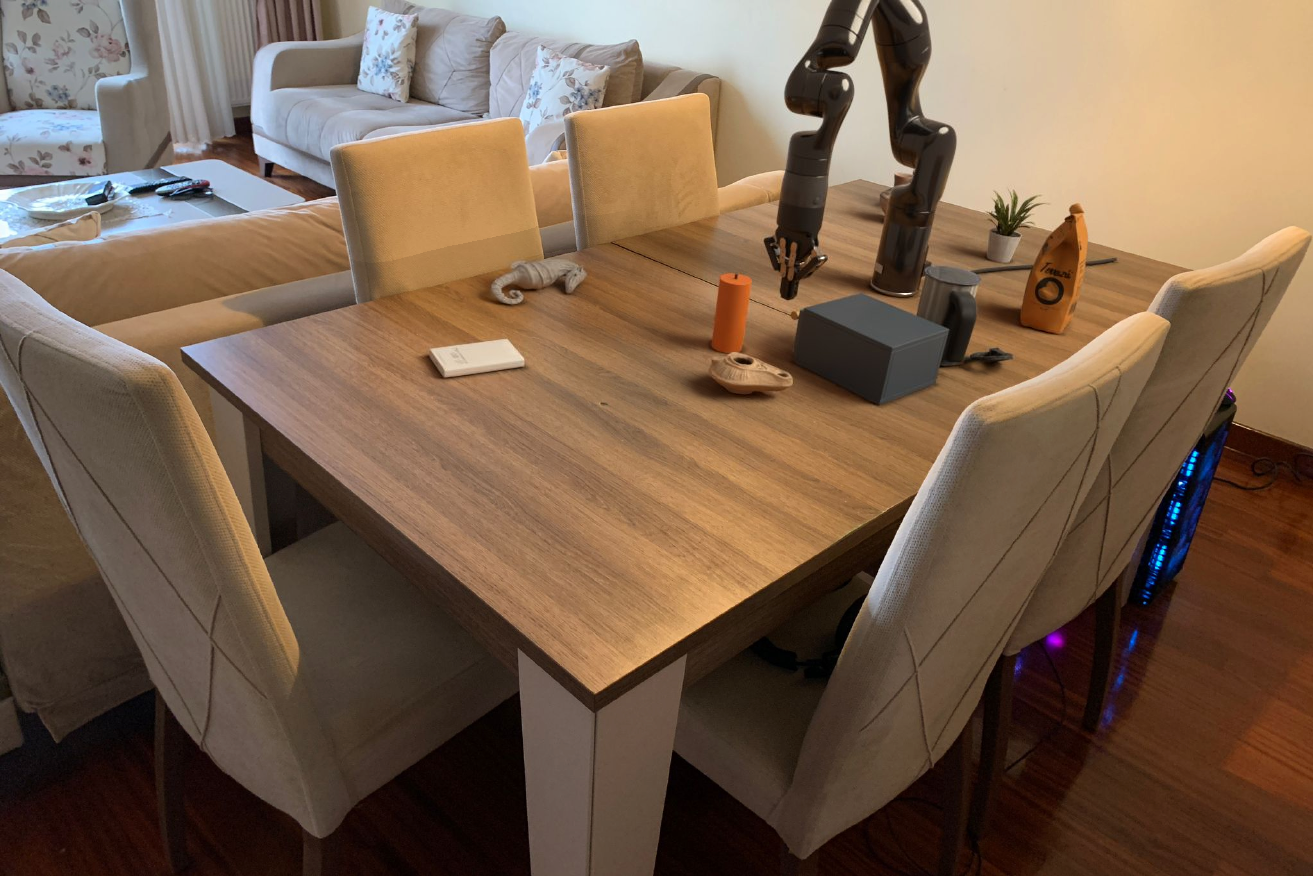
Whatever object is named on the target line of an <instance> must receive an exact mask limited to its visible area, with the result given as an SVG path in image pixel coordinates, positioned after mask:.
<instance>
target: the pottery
mask: <svg viewBox="0 0 1313 876" xmlns="http://www.w3.org/2000/svg"><path fill="white" fill-rule="evenodd" d="M914 172H915V169H913V170H912V174H910V173H906V172H895V173H894V174H893V175H894V176H893V178H894V179H893V180H894V181H893V182H894V183H893V187H890V188H888V189H886V190H883V191H882V192H880V193H879V205H880V208H881V211H882V212H883V214H884V216H885V215H886V210H887V205H888V201H889V196H890V192H891V190H892V188H894V187H895V186H899V185H907V184H909V183H910V182H911V180H912V178H913V175H914ZM944 192H945V191H944ZM944 192H943V194H942V196H941V198H940V200H939V201H938V203H939V202H940V201H941V199H942V198H943V195H944V194H945V193H944ZM884 220H885V217H884V218H883V221H884Z"/></svg>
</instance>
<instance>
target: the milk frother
mask: <svg viewBox="0 0 1313 876" xmlns="http://www.w3.org/2000/svg"><path fill="white" fill-rule="evenodd" d="M971 271H972V270H968V269H965V268H961V267H960V268H959V267H957V266H956V267H955V266H949V265H931V266H930V267H927V268H926V269H925V273H926V275H925V276H924V279H923V283H922V288H921V293H920V296H919V302H918V305H917V311H916V314H915V315H916V316H919V317H921V318H924V319H926V320H928V321H931V322H933V323H936V324H938V325H940V326H943V327H945V328H948V329H949V332H948V336H947V340H946V344H945V348H944V352H943V355H942V359H941V363H940V366H941V367H952V366H956V365H958V364H960V363H962V362H989V363H990V364H997V363H1000V362H1004V361H1011V360H1013V359H1014V354H1013V353H1010V352H1005V351H1003V350H1001V349H1000V347H990V348H989V349H988V350H987V351H980V352H979V351H978V352H973V353H971V354H970V355H969V356H966V354H967V350H968V347H969V344H970V341H971V338H972V335H973V332H974V328H975V326H976V322H977V317H978V304H977V301H976V295H977V292H978V289H979V288H978V287H979V284H980V283H982V280H983V279H982V278H981V276H980V275H979V274H978V273H976V274H975V273H973V272H971Z"/></svg>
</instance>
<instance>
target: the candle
mask: <svg viewBox="0 0 1313 876" xmlns="http://www.w3.org/2000/svg"><path fill="white" fill-rule="evenodd" d="M752 283H753V281H752V278H750V277H749V276H747V275H744V274H741V273H731V272H730V273H724V274H721V275H720V276H719V281H718V289H717V296H716V297H717V298H716V305H715V314H714V322H713V329H712V337H711V343H710V344H711V348H712V349H714V350H715V351H718V352H720V353H724V354H730V353H731V352H737V353H741V351H742V349H743V346H744V345H743V344H744V339H745V332H746V324H747V317H748V311H749V304H750V298H751V290H752Z"/></svg>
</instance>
